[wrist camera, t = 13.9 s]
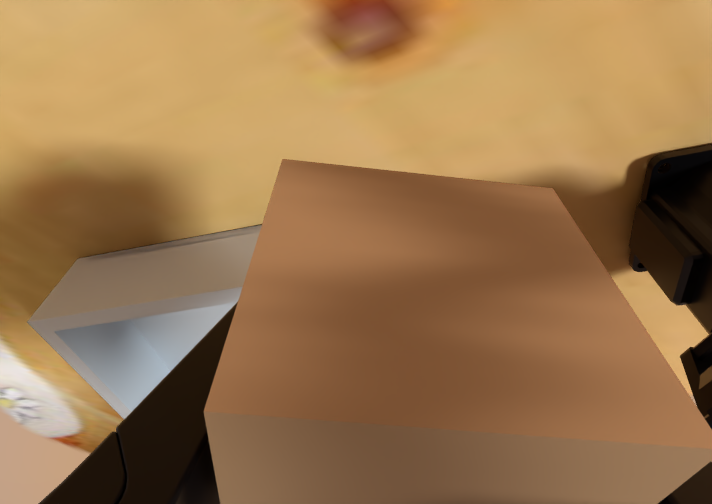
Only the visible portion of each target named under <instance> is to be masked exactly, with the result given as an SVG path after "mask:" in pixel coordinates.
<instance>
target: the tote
mask: <svg viewBox="0 0 712 504" xmlns="http://www.w3.org/2000/svg"><path fill="white" fill-rule="evenodd" d="M261 227H262V225H256V226H251V227H246V228H240V229H235V230H229V231H224V232H219V233H213V234H208V235H202V236H197V237H192V238H186V239H181V240H176V241H170V242H165V243H159V244H154V245H149V246H143V247H138V248H132V249H127V250H122V251H116V252H111V253H105V254H100V255H95V256H89V257H84V258H79V259H77V260H76V261H75V263H74V264H73V265H72V266H71V268H70V269H69V270H68V271H67V273H66V274H65V275H64V276H63V278H62V279H61V280H60V281H59V283H58V284H57V285H56V286H55V288H54V289H53V290H52V291H51V293H50V294H49V295H48V296H47V298H46V299H45V300H44V301H43V303H42V304H41V305H40V306H39V308H38V309H37V310H36V311H35V313H34V314H33V315H32V316H31V318H30V319H29V320H28V321H27V323H28V324H29V325H30V326H31V327H32V328H33V329H34V330H35V331H36V332H37V333H38V334H39V335H40V336H41V337H42V338H43V339H44V340H45V341H46V342H47V343H48V344H49V345H50V346H51V347H52V348H53V349H54V350H55V351H56V352H57V353H58V354H59V355H60V356H61V357H62V358H63V359H64V360H65V361H66V362H67V363H68V364H69V365H70V366H71V367H72V368H73V369H74V370H75V371H76V372H77V373H78V374H79V375H80V376H81V377H82V378H83V379H84V380H85V381H86V382H87V383H88V384H89V385H90V386H91V387H92V388H93V389H94V390H95V391H96V392H97V393H98V394H99V395H100V396H101V397H102V398H103V399H104V400H105V401H106V402H107V403H108V404H109V405H110V406H111V407H112V408H113V409H114V410H115V411H116V412H117V413H118V414H119V415H120V416H121V417H122V418H123V419H125V418H126V417H127V416H128V415H129V414H130V413H131V412H132V411H133V410H134V409H135V408H136V407H137V406H138V405H139V404H140V403H141V402H142V400H143V399H144V398H145V397H146V396H147V395H148V394H149V393H150V392H151V391H152V390H153V389H154V388H155V387H156V386H157V385H158V384H159V383H160V382H161V381H162V380H163V379H164V378H165V377H166V376H167V375H168V373H169V372H170V371H171V370H172V369H173V368H174V367H175V366H176V365H177V364H178V363H179V362H180V361H181V360H182V359H183V358H184V357H185V356H186V355H187V354H188V353H189V352H190V351H191V350H192V349H193V348H194V347H195V345H196V344H197V343H198V342H199V341H200V340H201V339H202V338H203V337H204V336H205V335H206V334H207V333H208V332H209V331H210V330H211V329H212V328H213V327H214V326H215V325H216V324H217V323H218V322H219V321H220V320H221V318H222V317H223V316H224V315H225V314H226V313H227V312H228V311H229V310H230V309H231V308H232V307H233V306H234V305H235V304H236V303H237V302H238V300H239V297H240V294H241V290H242V287H243V284H244V281H245V278H246V274H247V271H248V268H249V265H250V262H251V258H252V255H253V252H254V249H255V246H256V243H257V239H258V236H259V233H260V230H261Z"/></svg>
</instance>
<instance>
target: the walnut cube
mask: <svg viewBox="0 0 712 504" xmlns="http://www.w3.org/2000/svg"><path fill="white" fill-rule="evenodd" d="M204 417H205V422H206V428H207V433H208V439H209V444H210V449H211V455H212V460H213V466H214V471H215V477H216V482H217V488H218V493H219V499H220V504H658V503H659V502H660V501H662V500H663V499H664V498H665V497H667V496H668V495H669V494H670V493H672V492H673V491H674V490H675V489H677V488H678V487H679V486H680V485H682V484H683V483H684V482H685V481H687V480H688V479H689V478H691V477H692V476H693V475H694V474H696V473H697V472H698V471H699V470H701V469H702V468H703V467H704V466H706V465H707V464H708V463H709V462H711V461H712V429H711V428H710V426H709V425H708V423H707V422H706V420H705V419H704V417H703V416H702V414H701V413H700V411H699V410H698V408H697V406H696V405H695V403H694V402H693V401H692V399H691V397H690V396H689V394H688V393H687V391H686V390H685V388H684V387H683V385H682V384H681V382H680V381H679V379H678V378H677V376H676V375H675V373H674V372H673V370H672V369H671V367H670V365H669V364H668V362H667V361H666V359H665V358H664V356H663V355H662V353H661V352H660V350H659V349H658V347H657V346H656V344H655V343H654V341H653V340H652V338H651V337H650V335H649V334H648V332H647V331H646V329H645V328H644V326H643V324H642V323H641V321H640V320H639V318H638V317H637V315H636V314H635V312H634V311H633V309H632V308H631V306H630V305H629V303H628V302H627V300H626V299H625V297H624V296H623V294H622V293H621V291H620V290H619V288H618V287H617V285H616V283H615V282H614V280H613V279H612V277H611V276H610V274H609V273H608V271H607V270H606V268H605V267H604V265H603V264H602V262H601V261H600V259H599V258H598V256H597V255H596V253H595V252H594V250H593V249H592V247H591V246H590V244H589V242H588V241H587V239H586V238H585V236H584V235H583V233H582V232H581V230H580V229H579V227H578V226H577V224H576V223H575V221H574V220H573V218H572V217H571V215H570V214H569V212H568V211H567V209H566V208H565V206H564V205H563V203H562V201H561V200H560V198H559V197H558V195H557V194H556V192H555V191H554V189H553V188H546V187H537V186H527V185H518V184H509V183H500V182H491V181H481V180H472V179H463V178H454V177H444V176H435V175H426V174H417V173H407V172H398V171H389V170H380V169H370V168H361V167H352V166H343V165H333V164H324V163H315V162H306V161H296V160H287V159H282V163H281V166H280V169H279V172H278V175H277V179H276V182H275V185H274V188H273V191H272V195H271V198H270V201H269V204H268V207H267V211H266V214H265V217H264V220H263V223H262V227H261V230H260V233H259V236H258V239H257V243H256V246H255V249H254V252H253V255H252V258H251V262H250V265H249V268H248V271H247V274H246V278H245V281H244V284H243V287H242V290H241V294H240V297H239V300H238V303H237V306H236V310H235V313H234V316H233V319H232V322H231V326H230V329H229V332H228V335H227V338H226V342H225V345H224V348H223V351H222V354H221V358H220V361H219V364H218V367H217V370H216V374H215V377H214V380H213V383H212V386H211V389H210V393H209V396H208V399H207V402H206V405H205V409H204Z"/></svg>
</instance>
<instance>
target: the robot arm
mask: <svg viewBox="0 0 712 504" xmlns="http://www.w3.org/2000/svg"><path fill="white" fill-rule="evenodd" d="M665 163H666V164H665ZM662 164H665V166H664V167H663V168H661V169H659V167H660V166H661V165H662ZM629 247H630V249H631V252H630V257H629V265H630V266H631V267H632V269H633V270H634V271H636V272H643V271H648V272H649V273H650V275H651V276H652V277H653V279H654V280H655V281H656V283H657V284H658V285H659V286H660V288H661V289H662V290H663V292H664V293H665V294H666V296H667V297H668V298H669V299H670V301H671V302H673V303H674V304H676V305H686V306H687V307H688V308H689V310H690V311H691V312H692V313H693V315H694V316H695V317H696V318H697V320H698V321H699V322H700V323H701V325H702V326H703V327H704V328H705V330H706V331H707V332H708V334H709V335H708V336H707V337H706V338H704V339H703V340H702V341H701V342H700V343H698V344H697V345H696V346H695V347H690V348H689V349H687V350H686V351H685V352H684V353H683V354H681V355H680V358H681V361H682V363H683V366H684V369H685V372H686V375H687V378H688V381H689V384H690V387H691V390H692V393H693V396H694V399H695V401H696V405H697V408H698V410H699V411H700V413H701V414H702V416H703V417H704V419H705V420H706V422H707V423H708V425H709V426H710V428H711V429H712V145H707V146H701V147H696V148H690V149H685V150H680V151H674V152H669V153H663V154H660V155H657V156H655V157H654V158H652V159H651V161H650V162H649V164H648V166H647V171H646V176H645V181H644V186H643V191H642V196H641V201H640V202H639V204H638V205H637V207H636V212H635V217H634V222H633V227H632V232H631V238H630V243H629ZM640 262H641V263H640ZM237 303H238V302H237ZM237 303H236V304H235V305H234V306H233V307H232V308H231V309H230V310H229V311H228V312H227V313H226V314H225V315H224V316H223V317H222V318H221V320H220V321H219V322H218V323H217V324H216V325H215V326H214V327H213V328H212V329H211V330H210V331H209V332H208V333H207V334H206V335H205V336H204V337H203V338H202V339H201V340H200V341H199V342H198V343H197V344H196V345H195V347H194V348H193V349H192V350H191V351H190V352H189V353H188V354H187V355H186V356H185V357H184V358H183V359H182V360H181V361H180V362H179V363H178V364H177V365H176V366H175V367H174V368H173V369H172V370H171V371H170V372H169V373H168V375H167V376H166V377H165V378H164V379H163V380H162V381H161V382H160V383H159V384H158V385H157V386H156V387H155V388H154V389H153V390H152V391H151V392H150V393H149V394H148V395H147V396H146V397H145V398H144V399H143V400H142V402H141V403H140V404H139V405H138V406H137V407H136V408H135V409H134V410H133V411H132V412H131V413H130V414H129V415H128V416H127V417H126V418H125V419H124V420H123V421H122V422H121V423H120V424H119V425H118V426H117V428H116V432H117V433H116V432H111V433H110V434H109V435H108V436H107V438H106V439H105V440H104V441H103V442H102V443H101V444H100V445H99V446H98V447H97V448H96V449H95V450H94V451H93V452H92V453H91V454H90V455H89V456H88V457H87V458H86V459H85V460H84V461H83V462H82V463H81V464H80V465H79V466H78V467H77V468H76V469H75V470H74V471H73V472H72V473H71V474H70V475H69V476H68V477H67V478H66V479H65V480H64V481H63V482H62V483H61V484H60V485H59V486H58V487H57V488H56V489H54V490H53V491H52V492H51V493H50V494H49V495H48V496H46V497H45V498H44V499H43V500H42V501H41V502H40V503H39V504H220V499H219V493H218V488H217V482H216V477H215V471H214V466H213V460H212V455H211V449H210V444H209V439H208V433H207V428H206V422H205V417H204V409H205V405H206V402H207V399H208V396H209V393H210V389H211V386H212V383H213V380H214V377H215V374H216V370H217V367H218V364H219V361H220V358H221V354H222V351H223V348H224V345H225V342H226V338H227V335H228V332H229V329H230V326H231V322H232V319H233V316H234V313H235V310H236V306H237ZM658 504H712V462H709V463H708V464H707V465H706V466H704V467H703V468H702V469H701V470H699V471H698V472H697V473H696V474H694V475H693V476H692V477H691V478H689V479H688V480H687V481H685V482H684V483H683V484H682V485H680V486H679V487H678V488H677V489H675V490H674V491H673V492H672V493H670V494H669V495H668V496H667V497H665V498H664V499H663V500H662V501H660V502H659V503H658Z"/></svg>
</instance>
